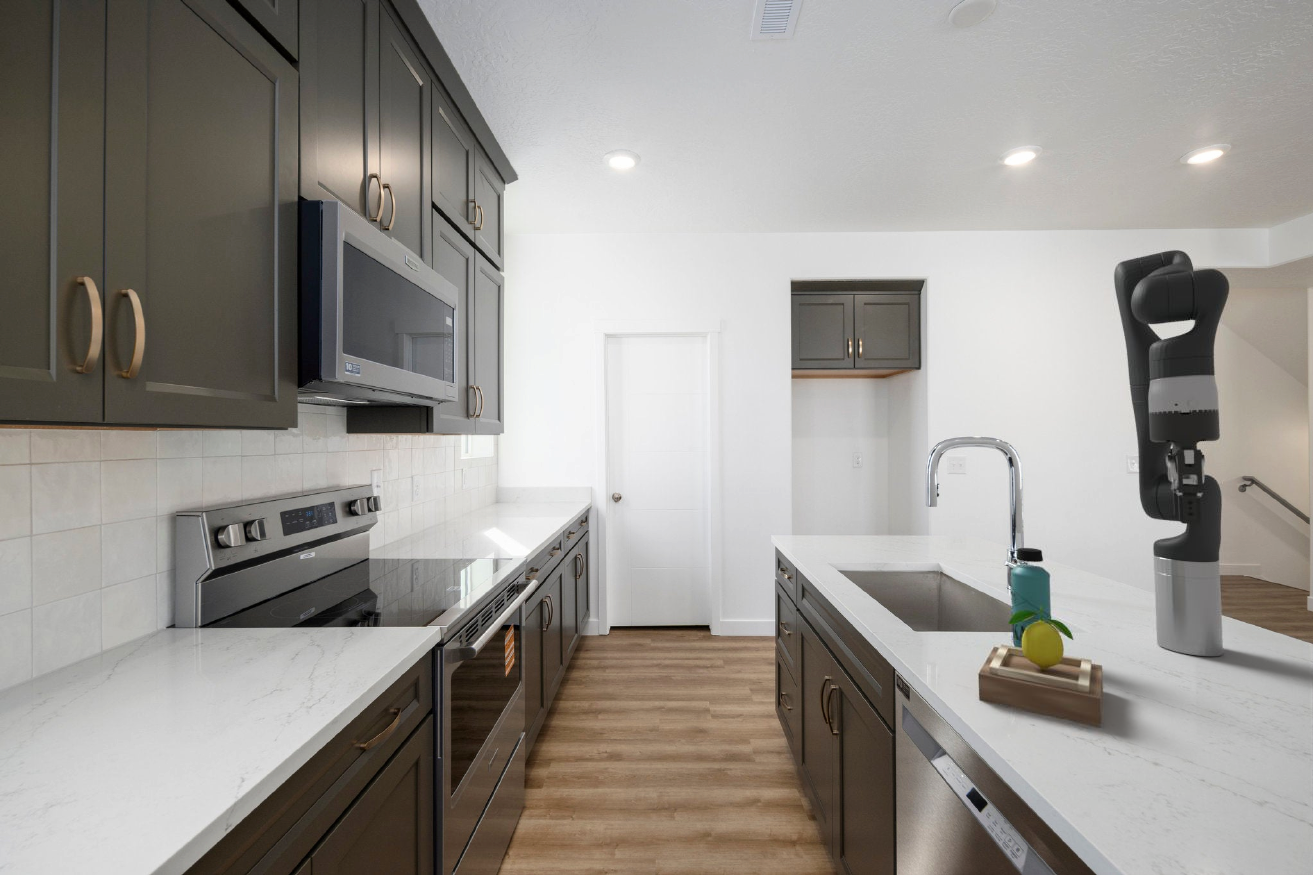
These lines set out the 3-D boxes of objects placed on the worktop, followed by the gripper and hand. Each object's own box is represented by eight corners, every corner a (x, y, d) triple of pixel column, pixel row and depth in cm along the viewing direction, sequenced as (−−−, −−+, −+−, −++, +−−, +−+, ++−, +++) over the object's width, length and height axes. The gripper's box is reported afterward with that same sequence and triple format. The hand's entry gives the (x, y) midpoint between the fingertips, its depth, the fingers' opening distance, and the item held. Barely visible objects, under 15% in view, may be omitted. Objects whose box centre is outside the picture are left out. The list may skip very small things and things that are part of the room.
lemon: (1009, 666, 92) (1007, 603, 92) (1031, 659, 94) (1030, 598, 95) (1053, 680, 86) (1050, 613, 86) (1076, 673, 88) (1074, 608, 88)
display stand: (994, 669, 101) (994, 640, 101) (1103, 690, 91) (1101, 659, 91) (979, 699, 89) (978, 667, 89) (1101, 727, 80) (1099, 691, 80)
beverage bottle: (1041, 649, 110) (1037, 545, 110) (1062, 662, 103) (1058, 551, 104) (1005, 649, 110) (1001, 545, 111) (1023, 662, 104) (1020, 551, 104)
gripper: (1146, 412, 92) (1150, 513, 91) (1151, 408, 80) (1155, 524, 80) (1211, 409, 87) (1216, 516, 87) (1226, 405, 76) (1231, 528, 75)
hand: (1187, 520), depth 83 cm, fingers open, 8 cm apart
